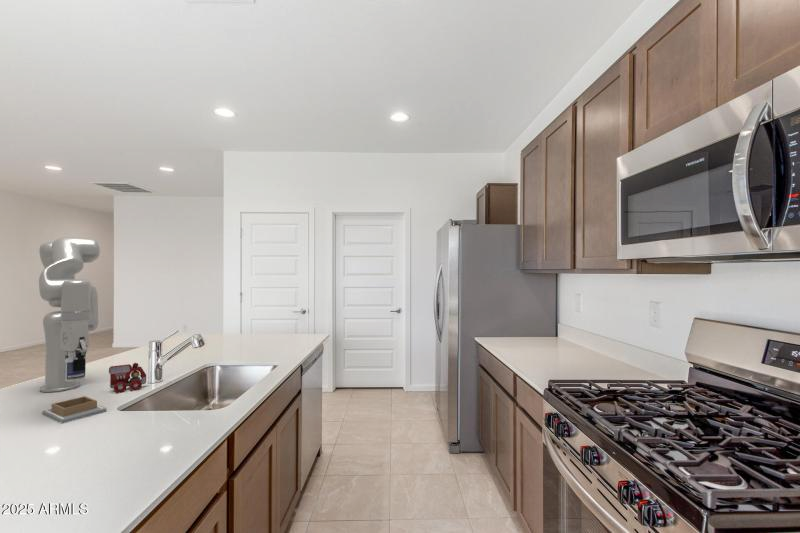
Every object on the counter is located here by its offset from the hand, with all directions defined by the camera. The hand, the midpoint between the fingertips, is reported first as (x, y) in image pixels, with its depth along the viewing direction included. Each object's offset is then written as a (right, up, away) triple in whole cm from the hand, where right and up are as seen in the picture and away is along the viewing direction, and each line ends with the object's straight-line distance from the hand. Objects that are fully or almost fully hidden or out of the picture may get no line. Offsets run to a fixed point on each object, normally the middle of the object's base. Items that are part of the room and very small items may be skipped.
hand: (75, 369), depth 129 cm
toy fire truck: (0, -15, +25) cm, 30 cm away
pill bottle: (0, -4, 0) cm, 4 cm away
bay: (0, -15, 0) cm, 15 cm away
